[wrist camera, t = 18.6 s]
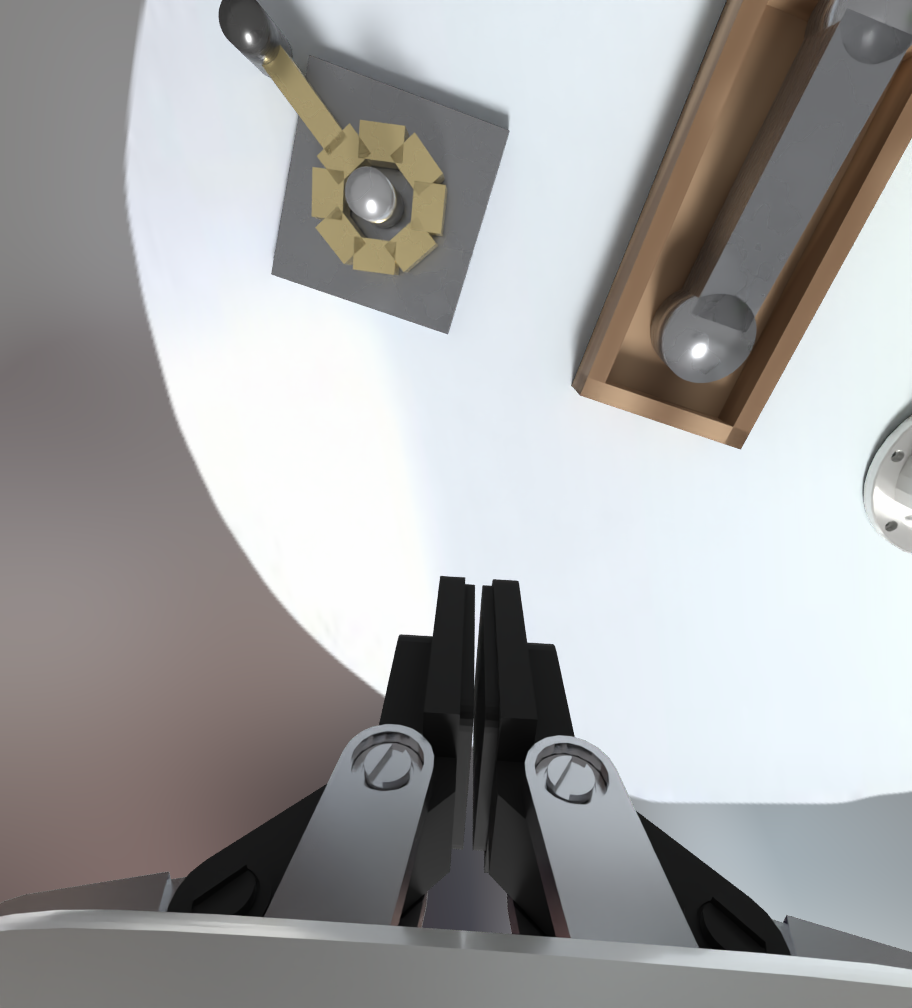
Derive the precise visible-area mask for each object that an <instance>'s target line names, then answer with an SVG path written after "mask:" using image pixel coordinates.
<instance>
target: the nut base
mask: <svg viewBox="0 0 912 1008" xmlns="http://www.w3.org/2000/svg"><path fill="white" fill-rule="evenodd" d="M306 79H307V80H308V82H309V83H310V85H311V86H312V87H313V89H314V90H315V92H316V93H317V94H318V96H319V97H320V98H321V100H322V101H323V103H324V104H325V105H326V107H327V108H328V109H329V111H330V112H331V114H332V115H333V116H334V118H335V119H336V121H337V122H338V123H339V125H340V126H341V127H342V129H344V128H345V127H346V126H347V125H348V124H349V123H350V124H351V126H352V127H353V128H354V129H355V131H356V132H357V133H358V134H359V126H360V120H366V121H373V122H381V123H388V124H395V125H402V126H405V127H406V129H407V131H408V133H409V137H410V136H411V135H412V134H413V133H414V132H415V133H416V135H417V136H418V138H419V139H420V141H421V142H422V144H423V145H424V146H425V148H426V149H427V151H428V152H429V154H430V155H431V157H432V158H433V160H434V161H435V163H436V164H437V165H438V167H439V168H440V170H441V171H442V173H443V175H444V178H445V180H444V181H442V182H441V183H440V184H442V185H446V187H447V190H448V191H447V200H446V210H445V220H444V230H443V236H437V235H431V236H432V238H433V239H434V240H435V242H436V243H437V245H438V246H437V247H436V248H435V249H434V250H433V251H431V252H430V253H429V254H428V255H427V256H426V257H425V258H423V259H422V260H421V261H420V262H419V263H418V264H417V265H415V266H414V267H413V268H412V269H411V270H410V271H409V272H403V271H402V269H401V268H400V267H399V275H391V274H384V273H376V272H369V271H361V270H354V269H353V264H351V265H348V264H343V262H342V261H341V260H340V258H339V257H338V256H337V255H336V253H335V252H334V251H333V250H332V248H331V247H330V246H329V244H328V243H327V242H326V241H325V239H324V238H323V237H322V235H321V234H320V233H319V232H318V230H317V229H316V228H315V227H316V226H317V225H318V224H319V223H320V222H321V221H322V220H320V219H317V218H315V217H312V167H317V168H324V169H326V168H325V166H324V165H323V164H322V162H321V161H320V160H319V158H318V157H317V155H318V154H319V153H320V152H321V151H322V150H323V147H322V146H321V144H320V143H319V142H318V140H317V139H316V138H315V136H314V135H313V134H312V132H311V131H310V130H309V128H308V127H307V126H306V124H305V123H304V122H303V120H302V119H301V118H300V116H299V118H298V124H297V130H296V135H295V141H294V147H293V153H292V158H291V164H290V170H289V176H288V181H287V187H286V193H285V198H284V204H283V210H282V216H281V221H280V227H279V233H278V239H277V244H276V250H275V256H274V261H273V267H272V273H271V274H272V275H275V276H278V277H281V278H284V279H287V280H289V281H292V282H295V283H298V284H301V285H304V286H307V287H310V288H313V289H316V290H319V291H322V292H325V293H328V294H331V295H334V296H337V297H340V298H342V299H345V300H348V301H351V302H354V303H357V304H360V305H363V306H366V307H369V308H372V309H375V310H378V311H381V312H384V313H387V314H390V315H393V316H395V317H398V318H401V319H404V320H407V321H410V322H413V323H416V324H419V325H422V326H425V327H428V328H431V329H434V330H437V331H440V332H443V333H446V334H448V333H449V329H450V326H451V323H452V320H453V316H454V313H455V310H456V306H457V303H458V300H459V297H460V293H461V290H462V287H463V283H464V280H465V277H466V273H467V270H468V267H469V264H470V260H471V257H472V254H473V250H474V247H475V244H476V241H477V237H478V234H479V231H480V227H481V224H482V221H483V218H484V214H485V211H486V208H487V204H488V201H489V198H490V194H491V191H492V188H493V185H494V181H495V178H496V175H497V171H498V168H499V165H500V162H501V158H502V155H503V152H504V148H505V145H506V142H507V139H508V135H509V130H507V129H504V128H501V127H499V126H496V125H493V124H491V123H488V122H486V121H483V120H480V119H478V118H475V117H472V116H470V115H467V114H464V113H462V112H459V111H456V110H454V109H451V108H448V107H446V106H443V105H440V104H438V103H435V102H433V101H430V100H427V99H425V98H422V97H419V96H417V95H414V94H411V93H409V92H406V91H403V90H401V89H398V88H395V87H393V86H390V85H387V84H385V83H382V82H380V81H377V80H374V79H372V78H369V77H366V76H364V75H361V74H358V73H356V72H353V71H350V70H348V69H345V68H342V67H340V66H337V65H334V64H332V63H329V62H327V61H324V60H321V59H319V58H316V57H313V56H311V55H309V61H308V67H307V72H306ZM413 191H414V189H413V188H412V186H411V185H410V183H409V182H408V181H407V179H406V178H405V176H404V175H403V174H402V172H401V171H400V169H393V168H386V167H378V166H371V167H369V166H364V167H360V168H358V169H356V170H354V171H353V172H352V173H351V174H350V176H349V177H348V179H347V182H346V186H345V197H346V200H347V203H348V205H349V207H350V217H351V218H352V219H353V221H354V222H355V223H356V225H357V226H358V227H359V229H360V230H361V231H362V233H363V234H364V235H365V237H366V238H370V239H378V240H385V241H390V240H391V239H392V238H393V237H395V236H396V235H397V234H398V233H399V232H400V231H401V230H402V229H403V228H404V227H406V226H407V225H408V224H409V223H410V222H411V215H412V203H413Z"/></svg>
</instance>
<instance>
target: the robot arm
mask: <svg viewBox="0 0 912 1008" xmlns="http://www.w3.org/2000/svg"><path fill="white" fill-rule="evenodd" d="M864 505H865V511H866V514H867V517H868V519H869V521H870V524H871V525H872V527H873V528H874V529H875V530H876V532H877V533H878V534H879V535H880V536H881V537H882V538H884V539H885V540H886V541H888V542H889V543H890V544H892V545H894V546H895V547H897V548H899V549H901V550H902V551H904V552H907V553H910V554H912V415H911V416H910V417H909V418H907V419H906V420H905V421H904V422H902V423H901V424H900V425H899V426H898V427H897V428H896V429H895V430H894V431H893V432H892V433H891V434H890V435H889V436H888V438H887V439H886V440H885V442H884V443H883V444H882V446H881V447H880V449H879V450H878V451H877V453H876V455H875V457H874V459H873V461H872V463H871V465H870V467H869V470H868V473H867V477H866V481H865V484H864ZM474 640H475V585H469V584H465V578H464V577H448V576H440V583H439V591H438V599H437V607H436V615H435V623H434V631H433V637H432V636H416V635H401V634H400V635H399V637H398V641H397V645H396V650H395V655H394V659H393V664H392V668H391V673H390V677H389V682H388V686H387V691H386V695H385V700H384V705H383V709H382V714H381V719H380V723H379V726H374V727H371V728H369V729H367V730H364V731H362V732H361V733H359V734H358V735H357V736H355V737H354V738H353V739H352V740H350V742H349V743H348V745H347V746H346V748H345V749H344V751H343V752H342V755H341V757H340V759H339V761H338V763H337V765H336V767H335V769H334V771H333V773H332V775H331V778H330V780H329V782H328V784H326V785H324V786H323V787H321V788H320V789H318V790H316V791H315V792H313V793H312V794H310V795H309V796H307V797H305V798H304V799H302V800H301V801H299V802H298V803H296V804H294V805H293V806H291V807H289V808H288V809H286V810H285V811H283V812H282V813H280V814H278V815H277V816H275V817H274V818H272V819H270V820H269V821H267V822H266V823H264V824H263V825H261V826H259V827H258V828H256V829H255V830H253V831H251V832H250V833H248V834H247V835H245V836H243V837H242V838H241V839H239V840H237V841H236V842H234V843H232V844H231V845H229V846H228V847H226V848H224V849H223V850H221V851H220V852H218V853H217V854H215V855H214V856H212V857H210V858H209V859H207V860H206V861H204V862H203V863H202V864H201V865H199V866H198V867H197V868H195V869H194V870H193V871H192V872H190V874H189V875H188V876H187V877H183V878H177V879H171V878H170V873H169V872H163V873H157V874H150V875H144V876H138V877H132V878H125V879H119V880H113V881H107V882H101V883H94V884H88V885H82V886H76V887H70V888H63V889H57V890H51V891H45V892H38V893H33V894H26V895H23V896H20V897H16V898H13V899H10V900H7V901H4V902H2V903H0V1008H912V952H909V951H906V950H902V949H899V948H896V947H892V946H889V945H885V944H882V943H878V942H876V941H872V940H869V939H865V938H862V937H859V936H855V935H852V934H849V933H845V932H842V931H838V930H835V929H832V928H829V927H825V926H822V925H818V924H815V923H812V922H808V921H805V920H801V919H798V918H795V917H792V916H788V915H786V917H785V919H784V921H783V923H782V922H779V921H776V920H772V919H771V918H770V916H769V915H768V914H767V913H766V912H765V911H764V910H763V909H762V908H761V907H760V906H759V905H758V904H756V903H755V902H754V901H753V900H752V899H751V898H750V897H749V896H747V895H746V894H745V893H743V892H742V891H741V890H739V889H738V888H737V887H735V886H734V885H733V884H731V883H730V882H729V881H728V880H726V879H725V878H723V877H722V876H721V875H719V874H718V873H717V872H716V871H714V870H713V869H712V868H710V867H709V866H708V865H706V864H705V863H703V861H701V860H700V859H699V858H697V857H696V856H695V855H693V854H692V853H691V852H689V851H688V850H687V849H685V848H684V847H683V846H682V845H680V844H679V843H678V842H676V841H675V840H674V839H672V838H671V837H670V836H668V835H667V834H666V833H665V832H663V831H662V830H661V829H659V828H658V827H656V826H655V825H654V824H653V823H651V822H650V821H649V820H647V819H646V818H644V816H642V815H641V814H639V813H638V812H637V811H636V810H635V808H634V806H633V804H632V802H631V799H630V797H629V795H628V793H627V791H626V789H625V786H624V784H623V782H622V780H621V778H620V776H619V773H618V771H617V769H616V768H615V766H614V764H613V763H612V761H611V760H610V758H609V757H608V756H607V755H606V754H605V753H604V752H602V751H601V750H600V749H599V748H598V747H596V746H594V745H593V744H591V743H589V742H587V741H585V740H582V739H579V738H576V737H575V736H574V732H573V727H572V722H571V718H570V713H569V708H568V704H567V699H566V694H565V690H564V685H563V680H562V675H561V671H560V666H559V661H558V657H557V652H556V648H555V646H554V645H553V644H541V643H527V638H526V631H525V624H524V617H523V610H522V602H521V595H520V588H519V582H518V581H512V580H496V579H493V581H492V586H485V585H483V587H482V598H481V611H480V623H479V635H478V648H477V660H476V673H475V685H474ZM473 718H474V729H473ZM472 734H473V850H481V851H484V870H485V873H489V875H490V876H491V877H492V878H493V879H494V880H495V881H496V882H497V883H498V884H499V885H500V886H501V887H502V888H503V889H504V890H505V892H506V893H507V910H508V916H509V921H510V927H511V932H512V934H502V933H488V932H473V931H459V930H445V929H431V928H422V923H423V918H424V914H425V910H426V905H427V893H428V890H429V889H430V888H432V887H433V886H434V885H435V884H436V883H437V882H438V881H440V880H441V879H442V878H443V877H444V876H445V875H446V874H447V873H449V872H450V863H451V849H463V843H464V831H465V819H466V807H467V795H468V794H467V793H468V782H469V770H470V757H471V746H472Z"/></svg>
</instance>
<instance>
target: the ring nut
mask: <svg viewBox="0 0 912 1008" xmlns="http://www.w3.org/2000/svg"><path fill="white" fill-rule="evenodd" d="M219 23H220V26H221V29H222V31H223V33H224V35H225V37H226V38H227V39H228V40H229V41H230V42H231V43H232V44H233V45H234V46H235V47H236V48H237V49H238V50H239V51H240V52H241V53H242V54H243V55H244V56H245V57H246V58H247V59H248V60H250V61H251V62H252V63H253V64H254V65H255V66H256V67H257V68H258V69H259V70H260V71H261V72H262V73H263V74H264V75H266V76H268V77H270V78H272V80H273V81H274V83H275V84H276V85H277V87H278V88H279V89H280V91H281V92H282V93H283V95H284V96H285V97H286V99H287V100H288V101H289V103H290V104H291V105H292V107H293V108H294V109H295V111H296V112H297V113H298V115H299V116H300V118H301V119H302V120H303V122H304V123H305V124H306V126H307V127H308V128H309V130H310V131H311V132H312V134H313V135H314V136H315V138H316V139H317V140H318V142H319V143H320V144H321V146H322V147H323V150H322V151H321V152H320V153H319V154H318V155H317V157H318V158H319V160H320V161H321V162H322V164H323V165H324V166H325V168H326V169H324V168H317V167H312V217H315V218H317V219H320V220H322V221H321V222H320V223H319V224H318V225H317V226H316V227H315V228H316V229H317V230H318V232H319V233H320V234H321V235H322V237H323V238H324V239H325V241H326V242H327V243H328V244H329V246H330V247H331V248H332V250H333V251H334V252H335V253H336V255H337V256H338V257H339V258H340V260H341V261H342V262H343V264H348V265H351V264H353V269H354V270H361V271H369V272H376V273H384V274H391V275H399V267H400V268H401V269H402V271H403V272H409V271H410V270H411V269H412V268H413V267H414V266H415V265H417V264H418V263H419V262H420V261H421V260H422V259H423V258H425V257H426V256H427V255H428V254H429V253H430V252H431V251H433V250H434V249H435V248H436V247H437V246H438V245H437V243H436V242H435V240H434V239H433V238H432V236H431V235H437V236H443V230H444V220H445V210H446V200H447V191H448V190H447V187H446V185H442V184H440V183H441V182H442V181H444V180H445V178H444V175H443V173H442V171H441V170H440V168H439V167H438V165H437V164H436V163H435V161H434V160H433V158H432V157H431V155H430V154H429V152H428V151H427V149H426V148H425V146H424V145H423V144H422V142H421V141H420V139H419V138H418V136H417V135H416V133H415V132H414V133H413V134H412V135H411V136H410V137H409V133H408V131H407V129H406V127H405V126H402V125H395V124H388V123H381V122H373V121H366V120H360V126H359V134H358V133H357V132H356V131H355V129H354V128H353V127H352V126H351V124H350V123H349V124H348V125H347V126H346V127H345V128H344V129H342V127H341V126H340V125H339V123H338V122H337V121H336V119H335V118H334V116H333V115H332V114H331V112H330V111H329V109H328V108H327V107H326V105H325V104H324V103H323V101H322V100H321V98H320V97H319V96H318V94H317V93H316V92H315V90H314V89H313V87H312V86H311V85H310V83H309V82H308V80H307V79H306V78H305V76H304V75H303V74H302V72H301V71H300V69H299V68H298V67H297V65H296V64H295V62H294V61H293V60H292V50H291V47H290V44H289V42H288V40H287V39H286V38H285V36H284V35H283V34H282V32H281V31H280V30H279V29H278V27H277V26H276V25H275V24H274V22H273V21H272V20H271V19H270V17H269V16H268V15H267V13H266V12H265V11H264V10H263V8H262V7H261V6H260V5H259V3H258V2H257V1H256V0H222V2H221V5H220V8H219ZM364 166H369V167H371V166H378V167H386V168H393V169H400V171H401V172H402V174H403V175H404V176H405V178H406V179H407V181H408V182H409V183H410V185H411V186H412V188H413V189H414V191H413V203H412V215H411V222H410V223H409V224H408V225H407V226H406V227H404V228H403V229H402V230H401V231H400V232H399V233H398V234H397V235H396V236H395V237H393V238H392V239H391V240H390V241H385V240H378V239H370V238H366V237H365V235H364V234H363V233H362V231H361V230H360V229H359V227H358V226H357V225H356V223H355V222H354V221H353V219H352V218H351V217H350V207H349V205H348V203H347V200H346V197H345V186H346V182H347V179H348V177H349V176H350V174H351V173H352V172H353V171H354V170H356V169H358V168H360V167H364Z"/></svg>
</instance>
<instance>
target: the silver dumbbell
mask: <svg viewBox="0 0 912 1008" xmlns="http://www.w3.org/2000/svg"><path fill="white" fill-rule="evenodd" d="M911 45H912V0H820V1H819V2H818V3H817V5H816V6H815V8H814V10H813V12H812V13H811V16H810V18H809V20H808V23H807V26H806V30H805V35H804V41H803V43H802V45H801V47H800V49H799V51H798V53H797V55H796V57H795V59H794V61H793V63H792V65H791V67H790V69H789V71H788V73H787V75H786V77H785V79H784V81H783V83H782V85H781V87H780V90H779V92H778V94H777V96H776V98H775V100H774V102H773V104H772V106H771V108H770V110H769V112H768V114H767V116H766V118H765V120H764V122H763V124H762V126H761V128H760V130H759V132H758V134H757V136H756V138H755V141H754V143H753V145H752V147H751V149H750V151H749V153H748V155H747V157H746V159H745V161H744V163H743V165H742V167H741V169H740V171H739V173H738V175H737V177H736V179H735V181H734V183H733V185H732V187H731V189H730V191H729V194H728V196H727V198H726V200H725V202H724V204H723V206H722V208H721V210H720V212H719V214H718V216H717V218H716V220H715V222H714V224H713V226H712V228H711V230H710V232H709V234H708V236H707V238H706V240H705V242H704V244H703V247H702V249H701V251H700V253H699V255H698V257H697V259H696V261H695V263H694V265H693V267H692V269H691V271H690V273H689V275H688V277H687V279H686V281H685V283H684V285H683V287H682V289H680V290H678V291H676V292H675V293H673V294H672V295H670V296H669V297H668V298H667V299H666V300H665V301H664V302H663V303H662V304H661V306H660V307H659V308H658V310H657V312H656V313H655V316H654V318H653V321H652V324H651V330H650V337H651V343H652V346H653V349H654V351H655V352H656V354H657V355H658V356H659V357H660V359H661V360H662V361H663V362H664V363H665V364H666V365H667V366H668V367H669V368H670V369H671V370H672V371H673V372H674V373H675V374H676V375H677V376H679V377H680V378H682V379H684V380H686V381H690V382H694V383H708V382H713V381H716V380H719V379H722V378H724V377H726V376H728V375H729V374H731V373H732V372H734V371H735V370H736V369H737V368H738V367H739V366H740V365H742V363H743V362H744V361H745V360H746V358H747V357H748V355H749V354H750V352H751V350H752V348H753V345H754V343H755V338H756V331H757V330H756V320H755V316H756V314H757V313H758V311H759V309H760V307H761V306H762V304H763V302H764V300H765V299H766V297H767V295H768V293H769V292H770V290H771V288H772V286H773V285H774V283H775V281H776V279H777V278H778V276H779V274H780V272H781V271H782V269H783V267H784V265H785V263H786V262H787V260H788V258H789V256H790V255H791V253H792V251H793V249H794V248H795V246H796V244H797V242H798V241H799V239H800V237H801V235H802V234H803V232H804V230H805V228H806V227H807V225H808V223H809V221H810V220H811V218H812V216H813V214H814V213H815V211H816V209H817V207H818V206H819V204H820V202H821V200H822V199H823V197H824V195H825V193H826V192H827V190H828V188H829V186H830V185H831V183H832V181H833V179H834V178H835V176H836V174H837V172H838V171H839V169H840V167H841V165H842V164H843V162H844V160H845V158H846V156H847V155H848V153H849V151H850V149H851V148H852V146H853V144H854V142H855V141H856V139H857V137H858V135H859V134H860V132H861V130H862V128H863V127H864V125H865V123H866V121H867V120H868V118H869V116H870V114H871V113H872V111H873V109H874V107H875V106H876V104H877V102H878V100H879V99H880V97H881V95H882V93H883V92H884V90H885V88H886V86H887V85H888V83H889V81H890V79H891V78H892V76H893V74H894V72H895V71H896V69H897V67H898V65H899V64H900V62H901V60H902V58H903V56H904V55H905V53H906V51H907V49H908V48H909V47H910V46H911Z"/></svg>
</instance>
